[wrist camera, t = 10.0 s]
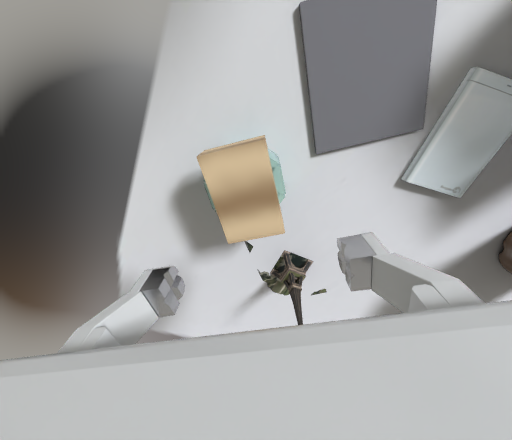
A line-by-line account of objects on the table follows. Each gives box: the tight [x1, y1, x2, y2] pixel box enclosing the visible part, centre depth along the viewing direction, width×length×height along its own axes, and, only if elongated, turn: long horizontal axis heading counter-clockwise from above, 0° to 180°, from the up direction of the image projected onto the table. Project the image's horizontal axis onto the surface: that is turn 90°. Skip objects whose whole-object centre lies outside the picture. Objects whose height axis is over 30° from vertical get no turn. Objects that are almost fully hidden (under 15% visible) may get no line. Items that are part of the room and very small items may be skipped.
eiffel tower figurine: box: [245, 241, 326, 325], centre depth 30 cm, size 15×10×13 cm
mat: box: [299, 0, 437, 154], centre depth 23 cm, size 14×12×1 cm
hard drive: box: [401, 67, 512, 198], centre depth 26 cm, size 2×8×12 cm
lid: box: [197, 135, 285, 244], centre depth 23 cm, size 10×6×3 cm, turn 14°
